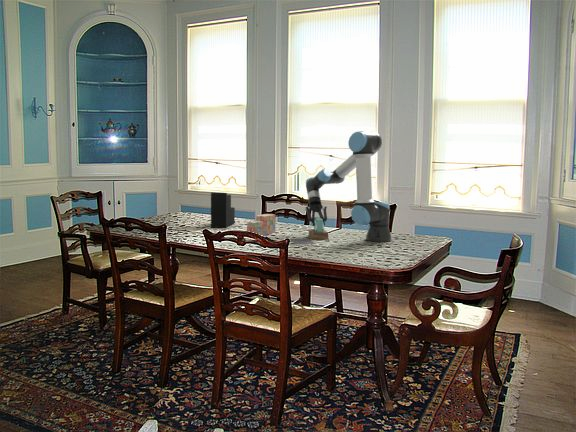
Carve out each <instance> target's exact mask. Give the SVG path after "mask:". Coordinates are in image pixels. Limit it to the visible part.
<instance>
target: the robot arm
mask: <svg viewBox="0 0 576 432" xmlns="http://www.w3.org/2000/svg"><path fill="white" fill-rule="evenodd" d="M347 143H348V148H349V149H350V151H352V154H351V155H350V156H349V157H348V158H346V159H345V160H344V161H343V162H342V163H341V164H340V165H339V166H338V167H336V169H334V170H333V171H330V170H328V169H326V168H322V169H321V170H320V171H318V173H317V174H316V175H315V176H314V177H309V178H307V179H306V180H305V188H306V193H307V200H308V205H309V206H305V209H304V210H305V211H306V215H307V219H308V222H309V223H310V222H311V223H312V227H313V228H314V227H315V231H317V224H316V220H314V218H316V217H315V214H316V213H317V214H318V217H319V218H321V219H323V231H324V230H325V225H326V223H325V222H327V220H328V215H327V214H328V213H327V207H328V206H323V205H322V200H321V195H320V189H321V188H322V187H323V186H324V185H331V184H341V183H344V181H345V179H346V178H345V177H347V176H348V175H350V173H351V172H352V171H354V170H355V171H356V172H355V175H356V200H355V201H354V206H353V208H352V209H351V211H350V213H351V214H350V216H351V219H352V221H353V222H354V223H355V224H356V225H358V226H368V230H367V233H366V236H365V240H366V241H368V242H377V243H387V242H391V241H392V234H391V232H390V228H389V226H390V213H391V212H390V211H391V209H390V203H388V202H383V201H382V202H380V201H375V200H374V199H373V190H372V189H373V188H372V185H373V184H372V163H371V162H372V160H371V159H372V156H374V155H375V154H376V153H377V152H378V151H379V150H380V149H381V147H382V145H383V140H382V137H381V135H380V134H379V133H378V132H376V131H361V130H360V131H355V132H353V133H352V134H351V136H349V139H348V142H347ZM322 211H323V213H322Z"/></svg>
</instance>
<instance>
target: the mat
mask: <svg viewBox="0 0 576 432" xmlns="http://www.w3.org/2000/svg"><path fill="white" fill-rule="evenodd" d="M289 240H290V241H291V242H292V243H293V244H294V245H311V244H312V245H315V244H316V243H315V242H314V240H312V239H311V238H290V239H289Z"/></svg>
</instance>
